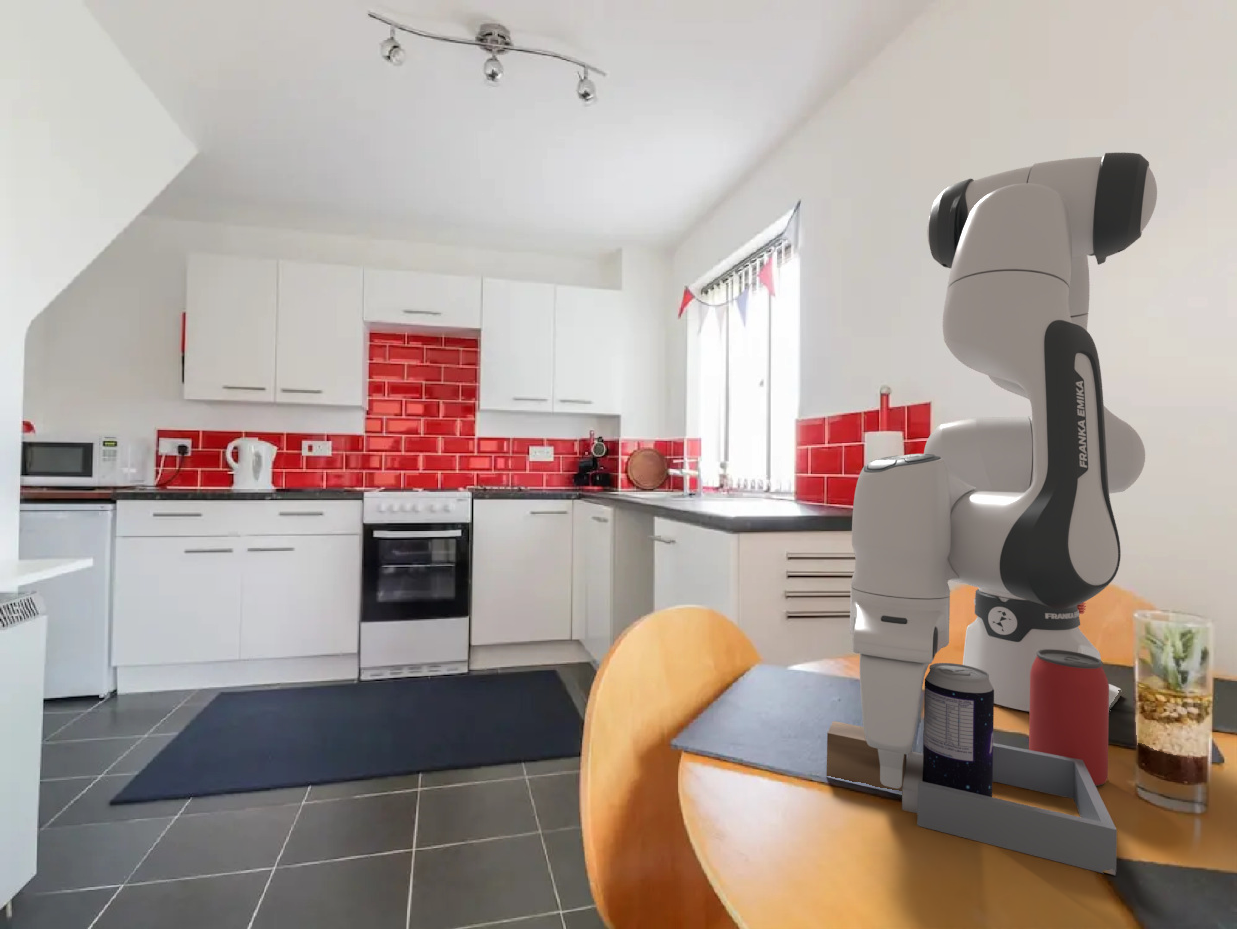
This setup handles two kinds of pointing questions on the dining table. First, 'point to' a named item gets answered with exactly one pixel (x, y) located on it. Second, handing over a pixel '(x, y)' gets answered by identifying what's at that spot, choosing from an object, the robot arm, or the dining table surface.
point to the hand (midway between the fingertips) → (895, 763)
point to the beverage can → (958, 728)
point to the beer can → (1070, 709)
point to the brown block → (869, 762)
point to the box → (1028, 811)
